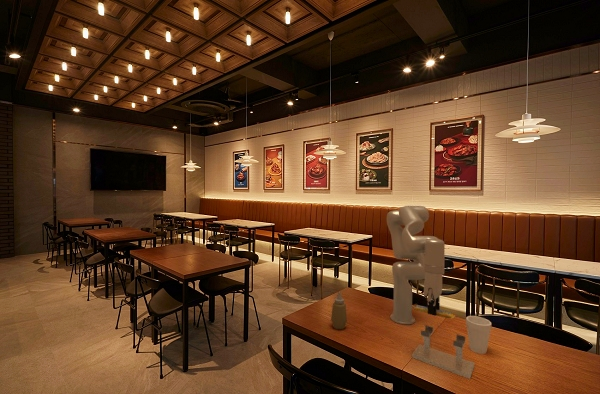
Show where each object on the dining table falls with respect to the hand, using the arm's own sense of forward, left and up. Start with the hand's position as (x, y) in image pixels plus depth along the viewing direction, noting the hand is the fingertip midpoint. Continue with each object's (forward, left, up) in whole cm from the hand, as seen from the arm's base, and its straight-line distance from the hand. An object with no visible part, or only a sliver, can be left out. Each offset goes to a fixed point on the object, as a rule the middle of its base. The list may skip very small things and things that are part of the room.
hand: (433, 312), depth 115 cm
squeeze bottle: (+2, -45, -20) cm, 49 cm away
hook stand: (0, +3, -19) cm, 20 cm away
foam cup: (-20, +13, -20) cm, 31 cm away
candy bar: (0, 0, -1) cm, 1 cm away
